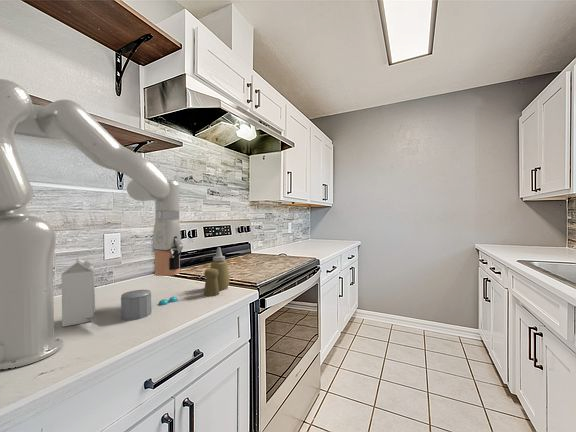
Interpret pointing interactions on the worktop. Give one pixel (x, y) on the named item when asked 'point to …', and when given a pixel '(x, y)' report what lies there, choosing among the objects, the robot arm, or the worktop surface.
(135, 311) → the grey faceted cylinder
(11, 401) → the worktop surface
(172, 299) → the marble
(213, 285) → the olive pepper shaker
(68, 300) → the milk carton
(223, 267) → the squeeze bottle
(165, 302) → the marble
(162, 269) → the terracotta cup
